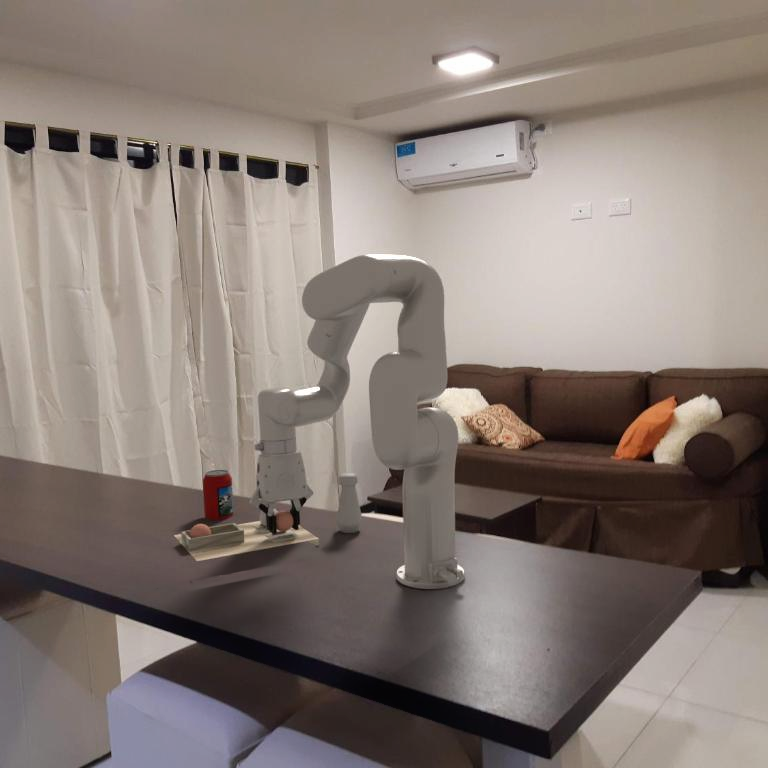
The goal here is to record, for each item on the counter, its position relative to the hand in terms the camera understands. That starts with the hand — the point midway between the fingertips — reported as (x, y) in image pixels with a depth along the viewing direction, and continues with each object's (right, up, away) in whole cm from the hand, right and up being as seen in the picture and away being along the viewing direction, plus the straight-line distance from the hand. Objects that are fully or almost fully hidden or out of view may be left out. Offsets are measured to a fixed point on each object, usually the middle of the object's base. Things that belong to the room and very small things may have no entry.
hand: (283, 529), depth 165 cm
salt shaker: (+14, -2, +8) cm, 16 cm away
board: (-8, -3, +1) cm, 9 cm away
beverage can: (-18, -2, +19) cm, 26 cm away
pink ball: (-17, -2, -4) cm, 18 cm away
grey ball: (-4, -1, +8) cm, 9 cm away
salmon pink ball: (0, 0, 0) cm, 0 cm away
